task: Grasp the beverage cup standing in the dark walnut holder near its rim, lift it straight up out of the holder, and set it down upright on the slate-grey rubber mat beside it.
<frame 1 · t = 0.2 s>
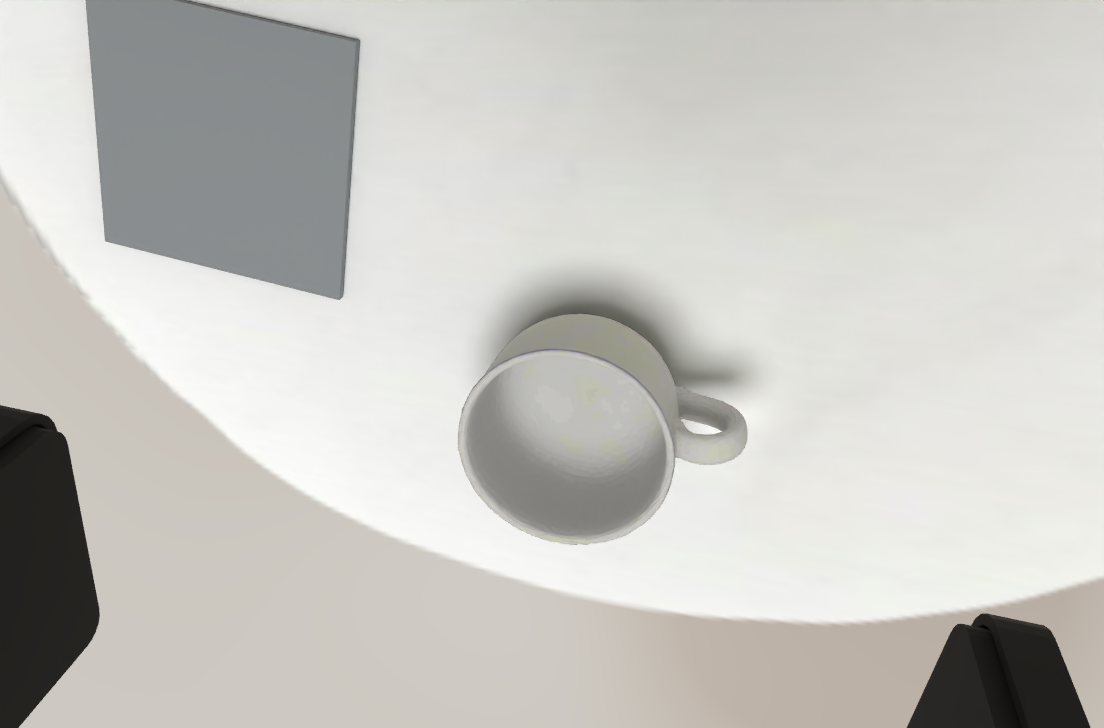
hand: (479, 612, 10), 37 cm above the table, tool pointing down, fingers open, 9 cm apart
slate mat: (224, 147, 48), on the table
teacup: (617, 378, 50), on the table
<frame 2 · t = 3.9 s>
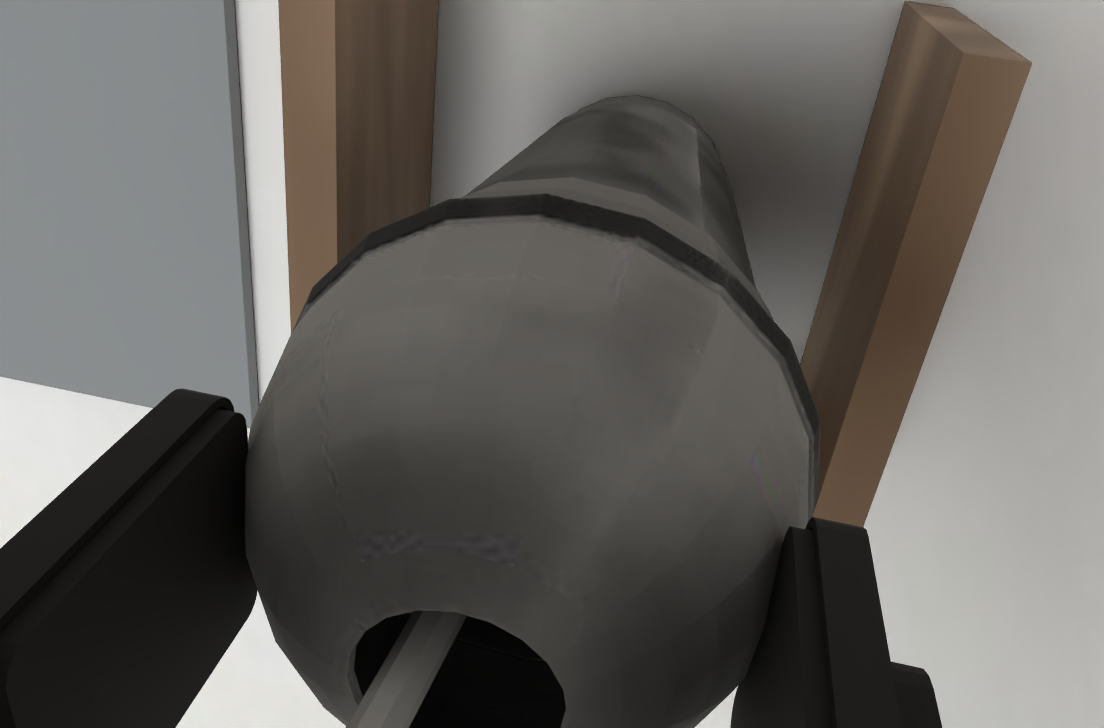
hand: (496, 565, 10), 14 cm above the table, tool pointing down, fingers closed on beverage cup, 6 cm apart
slate mat: (4, 156, 25), on the table
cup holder: (630, 190, 22), on the table
beverage cup: (630, 188, 22), on the table, touching gripper
when the fingers open (15 cm above the table, at t = 11.3 s): beverage cup stays where it is, resting on slate mat.
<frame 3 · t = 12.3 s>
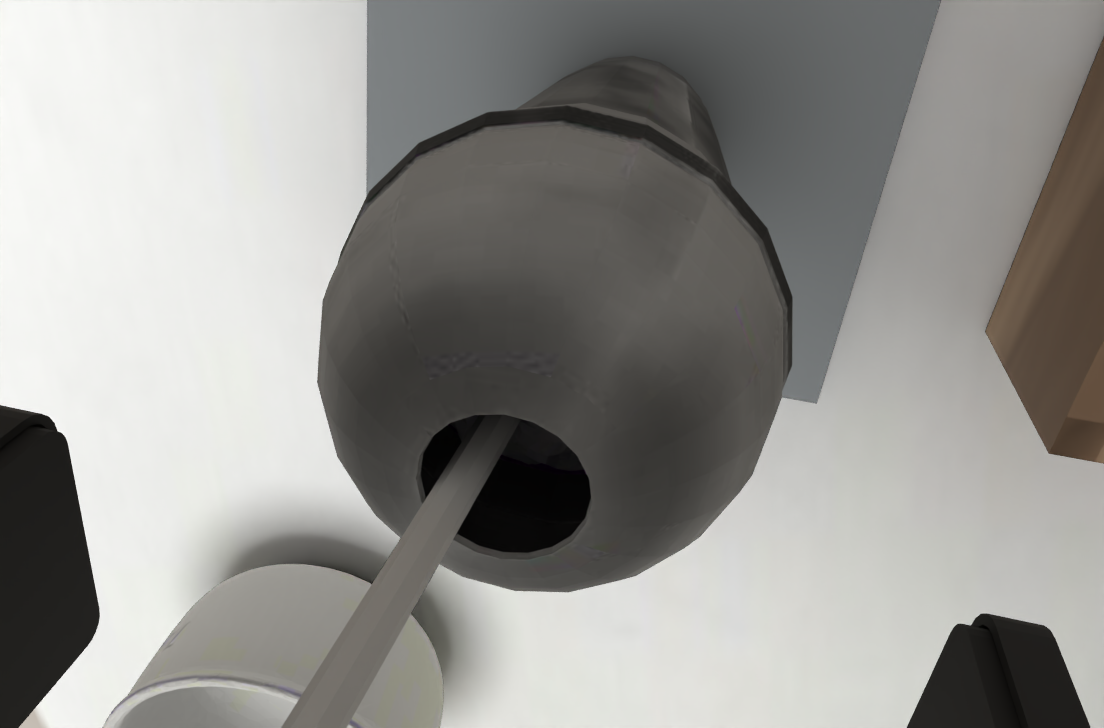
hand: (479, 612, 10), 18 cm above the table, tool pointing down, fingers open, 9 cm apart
slate mat: (621, 131, 25), on the table
beverage cup: (627, 142, 24), resting on slate mat
teacup: (347, 651, 37), on the table
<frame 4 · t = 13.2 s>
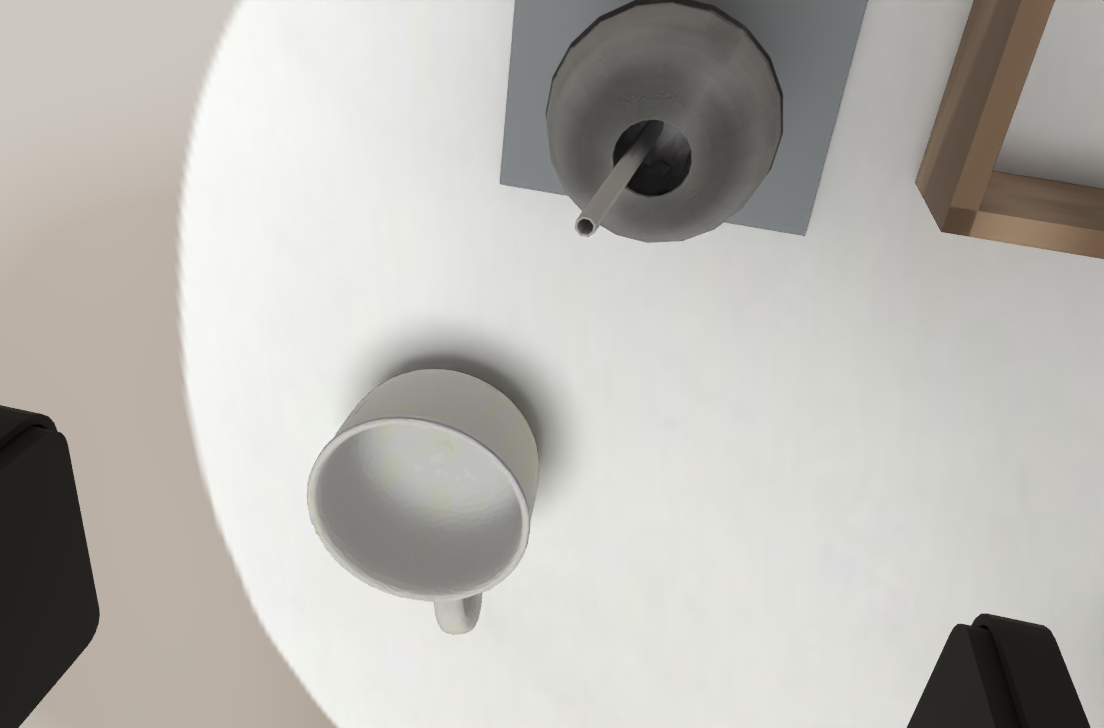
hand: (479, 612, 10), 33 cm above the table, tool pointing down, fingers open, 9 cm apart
slate mat: (677, 48, 38), on the table
beverage cup: (681, 54, 38), resting on slate mat
teacup: (462, 451, 51), on the table
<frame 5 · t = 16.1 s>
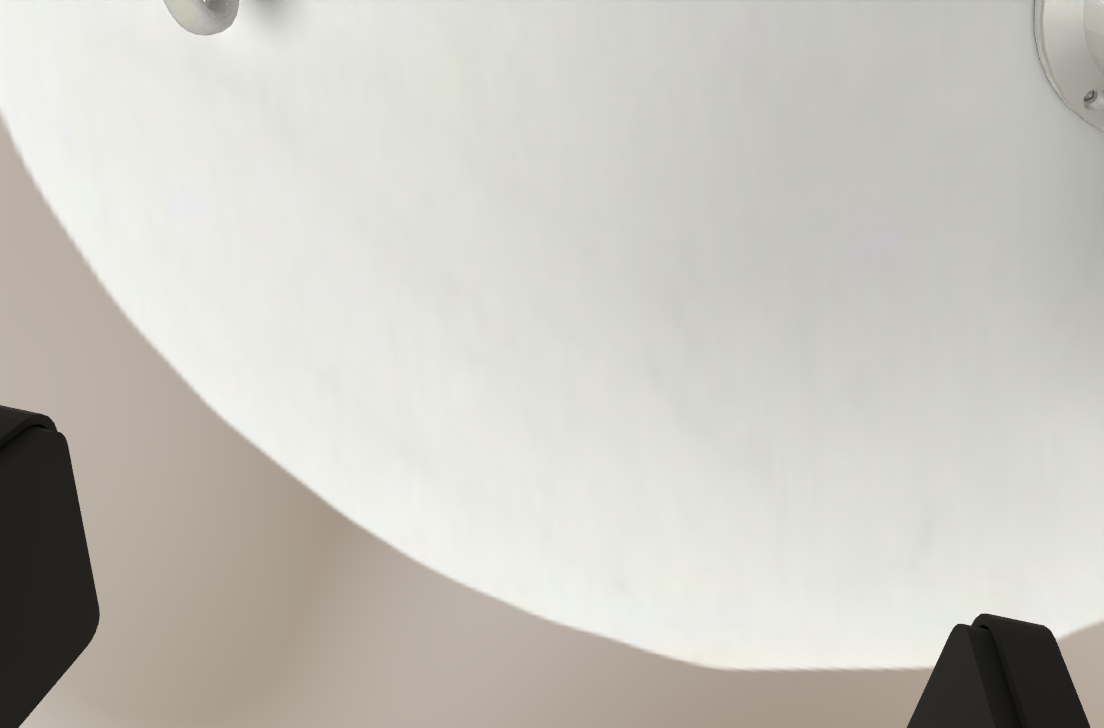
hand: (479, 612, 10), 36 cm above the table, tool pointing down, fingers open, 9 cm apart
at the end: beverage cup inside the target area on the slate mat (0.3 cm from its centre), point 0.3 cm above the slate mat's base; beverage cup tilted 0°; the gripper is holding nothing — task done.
